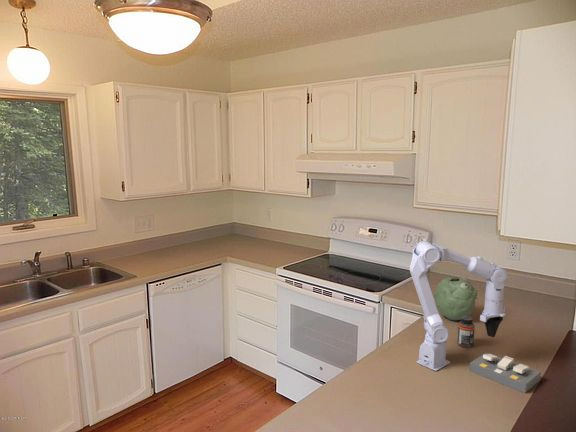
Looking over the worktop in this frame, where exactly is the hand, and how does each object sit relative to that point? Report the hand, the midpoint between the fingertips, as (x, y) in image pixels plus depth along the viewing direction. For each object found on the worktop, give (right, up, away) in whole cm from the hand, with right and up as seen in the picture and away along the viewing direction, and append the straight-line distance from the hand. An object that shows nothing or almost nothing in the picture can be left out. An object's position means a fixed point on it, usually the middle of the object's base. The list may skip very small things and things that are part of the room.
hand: (491, 335), depth 149 cm
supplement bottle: (-2, -8, +16) cm, 18 cm away
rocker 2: (+1, -7, -7) cm, 10 cm away
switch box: (+1, -11, -7) cm, 13 cm away
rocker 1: (-2, -6, -4) cm, 8 cm away
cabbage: (+3, -5, +42) cm, 43 cm away
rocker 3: (+5, -8, -11) cm, 14 cm away
